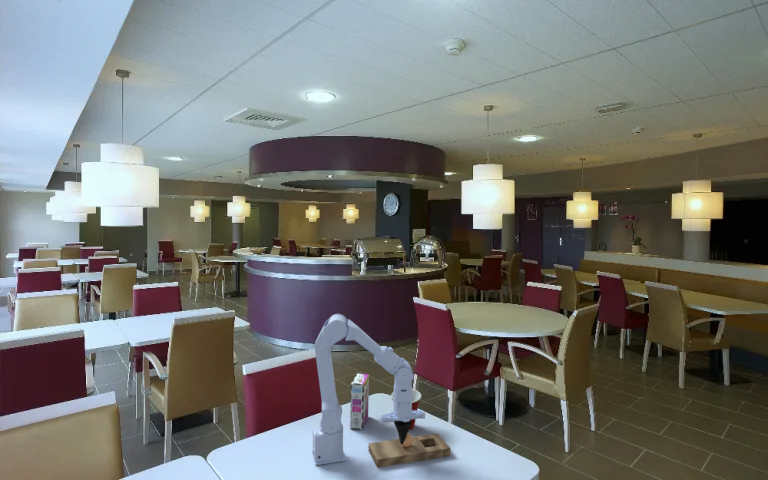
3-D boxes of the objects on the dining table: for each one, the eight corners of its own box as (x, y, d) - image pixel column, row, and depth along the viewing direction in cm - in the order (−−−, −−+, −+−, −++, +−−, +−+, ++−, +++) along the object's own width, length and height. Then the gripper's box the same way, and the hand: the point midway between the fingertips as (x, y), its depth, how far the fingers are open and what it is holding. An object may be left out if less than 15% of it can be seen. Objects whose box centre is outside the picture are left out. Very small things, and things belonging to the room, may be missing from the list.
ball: (401, 439, 135) (413, 435, 136) (397, 433, 139) (409, 429, 140) (404, 451, 135) (415, 447, 136) (400, 444, 139) (411, 440, 140)
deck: (377, 467, 130) (377, 459, 130) (368, 450, 139) (368, 443, 139) (450, 455, 137) (450, 448, 136) (437, 440, 146) (437, 433, 146)
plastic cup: (385, 429, 153) (385, 396, 153) (398, 417, 163) (399, 386, 162) (413, 437, 148) (413, 402, 148) (425, 424, 158) (426, 391, 157)
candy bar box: (363, 430, 153) (364, 384, 152) (349, 429, 154) (350, 383, 153) (369, 416, 164) (369, 373, 163) (356, 415, 165) (356, 372, 164)
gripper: (384, 408, 131) (383, 452, 131) (428, 402, 135) (428, 445, 135) (377, 399, 137) (377, 441, 138) (420, 394, 141) (420, 435, 142)
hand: (402, 442), depth 137 cm, fingers closed, pressing on ball
